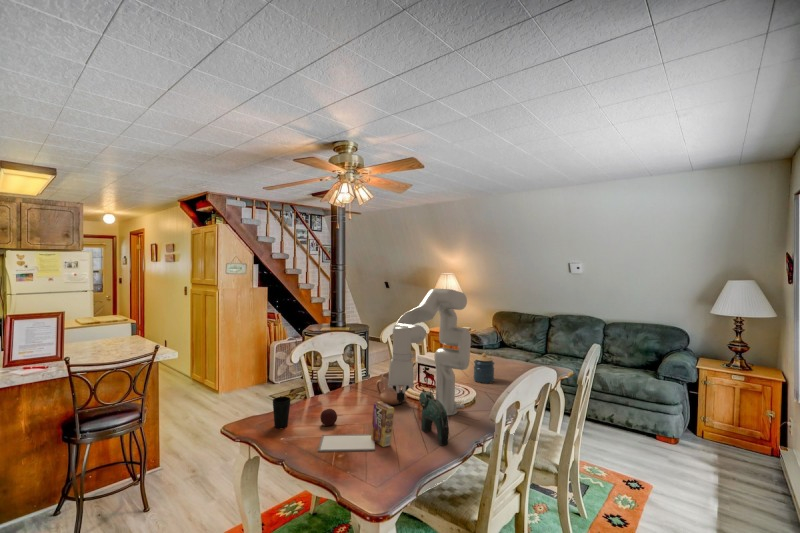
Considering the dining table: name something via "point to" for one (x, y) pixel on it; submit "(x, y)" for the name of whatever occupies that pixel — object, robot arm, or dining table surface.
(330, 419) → the dark maroon ball
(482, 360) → the canister
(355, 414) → the dining table surface
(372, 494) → the dining table surface
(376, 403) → the candy box
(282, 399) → the cup
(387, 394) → the ceramic jug
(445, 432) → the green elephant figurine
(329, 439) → the mat
